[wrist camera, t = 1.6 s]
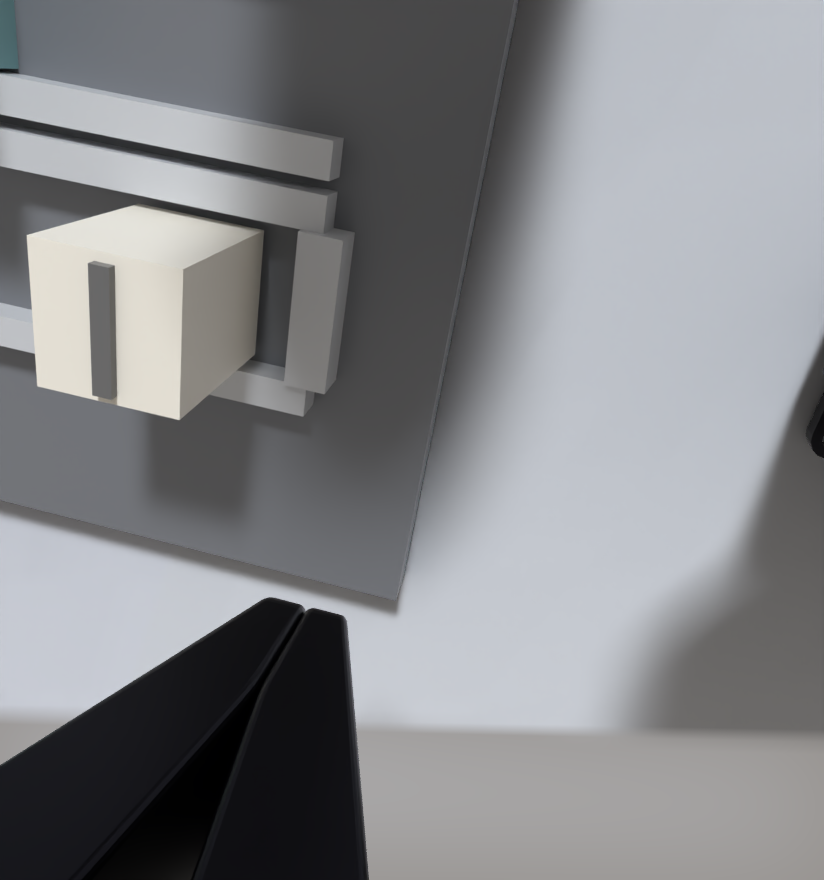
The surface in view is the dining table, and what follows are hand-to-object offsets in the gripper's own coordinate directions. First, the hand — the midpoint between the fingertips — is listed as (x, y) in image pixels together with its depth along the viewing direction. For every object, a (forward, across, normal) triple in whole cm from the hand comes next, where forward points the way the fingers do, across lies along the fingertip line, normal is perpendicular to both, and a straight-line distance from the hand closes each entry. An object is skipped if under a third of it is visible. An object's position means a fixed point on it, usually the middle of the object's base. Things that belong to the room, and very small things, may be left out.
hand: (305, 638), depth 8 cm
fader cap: (+10, +6, 0) cm, 12 cm away
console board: (+12, +10, 0) cm, 16 cm away
